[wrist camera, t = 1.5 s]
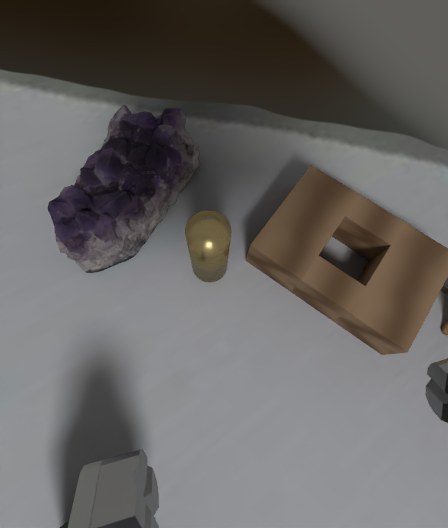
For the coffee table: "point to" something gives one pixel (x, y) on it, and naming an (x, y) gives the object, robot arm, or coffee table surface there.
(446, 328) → the lion figurine
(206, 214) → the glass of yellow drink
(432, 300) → the walnut hole block
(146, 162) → the geode
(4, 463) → the coffee table surface
